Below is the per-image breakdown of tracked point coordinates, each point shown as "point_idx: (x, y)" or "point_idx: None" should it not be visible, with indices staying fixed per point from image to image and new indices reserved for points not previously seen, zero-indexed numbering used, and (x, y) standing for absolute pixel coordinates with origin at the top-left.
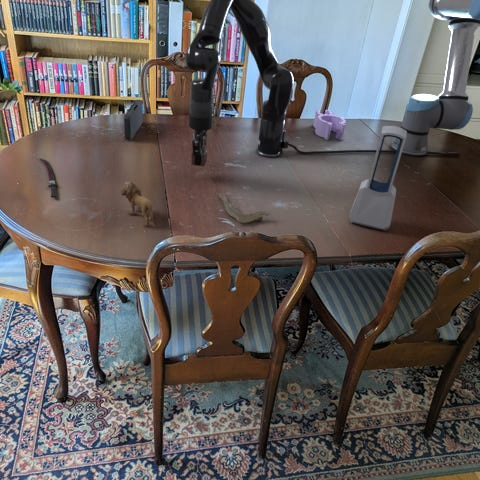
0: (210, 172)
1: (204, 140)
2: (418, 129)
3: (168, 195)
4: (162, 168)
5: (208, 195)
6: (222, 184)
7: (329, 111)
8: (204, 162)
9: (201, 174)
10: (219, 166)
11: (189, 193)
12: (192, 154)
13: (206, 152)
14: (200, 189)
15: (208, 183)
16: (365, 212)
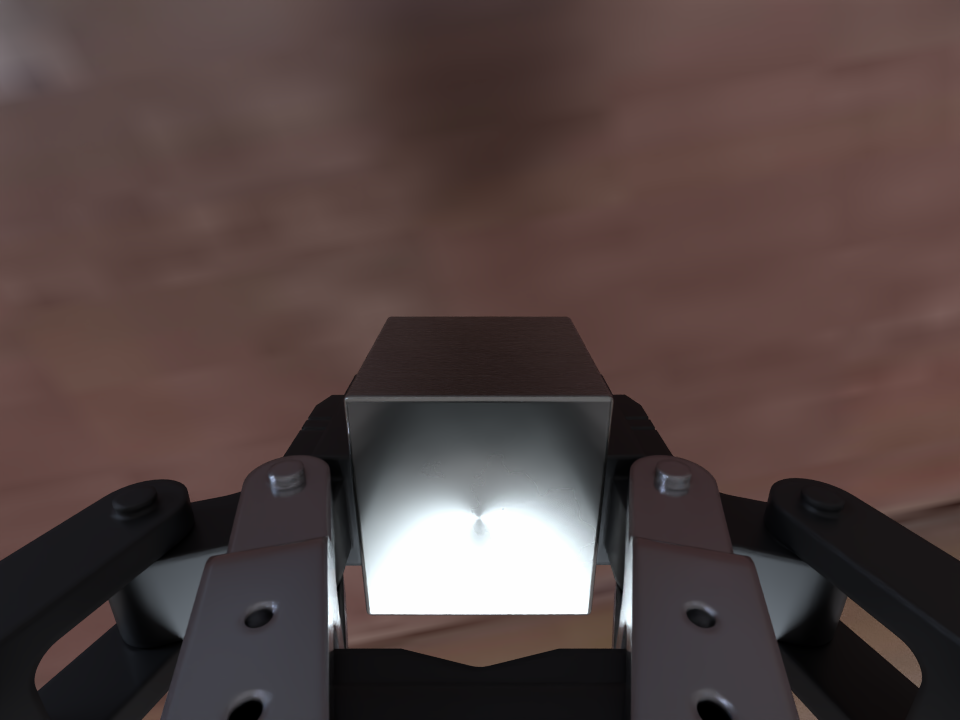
0: (319, 229)
1: (333, 671)
2: None
3: (916, 499)
4: (413, 635)
5: (916, 143)
6: (602, 15)
7: None
8: (571, 336)
9: (409, 315)
10: (100, 149)
11: (872, 345)
12: (592, 591)
13: (393, 385)
14: (774, 258)
15: (612, 199)
16: None
